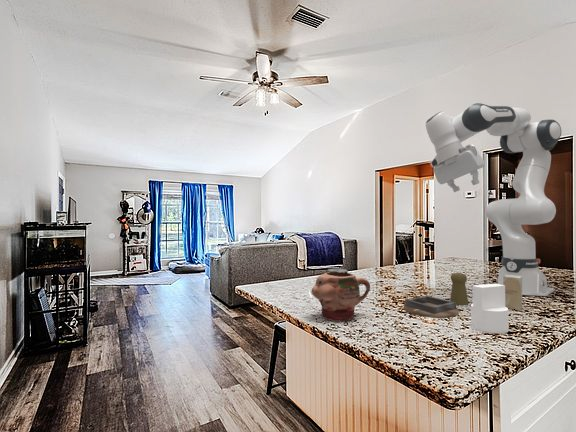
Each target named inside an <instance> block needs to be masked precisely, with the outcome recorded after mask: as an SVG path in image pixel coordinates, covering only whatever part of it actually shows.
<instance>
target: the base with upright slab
mask: <svg viewBox="0 0 576 432" xmlns="http://www.w3.org/2000/svg"><path fill="white" fill-rule="evenodd" d="M470 323H471V327H472V329H475V330H478V331H479V332H480V331H481V332H483V333H491V334H507V333H508V332H509V330H510V329H509V309H508V308H507V307H505V285H501V284H498V283H485V284H476V285H472V303H471V305H470Z"/></svg>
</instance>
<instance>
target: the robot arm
mask: <svg viewBox="0 0 576 432" xmlns="http://www.w3.org/2000/svg"><path fill="white" fill-rule="evenodd" d="M531 118H532V115H531V113H530V112H529V111H528V110H527V109H526V108H523V107H518V106H517V107H516V106H515V107H513V106H508V105H487V104H485V103H481V102H480V103H479V102H476V103H473V104H471V105H470V106H468V107H467V108H466V109H464V110H463V111H462V112H460V113H459V114H457V115H456V116H451V115H447V113H446V112H445V111H439V112H437V113H435V114H434V115H433V116H431V117H429V118H428V119H427V120H426V121H425V129H426V132H427V135H428V137H429V139H430V142H431V143H432V144H433V146H434V151H435V153H436V155H435V157H433V159H432V161H430V163H429V164H430V167H432V168H433V174H434V175H435V178H436V181H437V182H438V183H439V184H440V185H443V184H447V185H448V186H449V187H450V188H451V189H452V191H453V193H456V192H459V191H460V190H461V188H460V186H459V185H456V183H455V180H457V179H458V178H460V177H463V176H465V175H468V174H470V176H471V177H472V180H471V181H470V182H471V184H472V185H473V186H475V185H478V184H480V180H479V171H478V170H480V169H483V168H485V160H484V159H483V157H482V155H481V154H480V152H479V151H478V150H477V148H476V146H475V145H473V144H467V145H465V146H463V144H462V143H463V142H464V141H466V140H469V139H470V138H471V137H474V136H475V135H477V134H480V133H481V132H483V131H486V132H487V134H489V135H490V136H492V137H493V136H494V137H500V139H499V145H500V148H501V150H503V152H505V153H507V154H516V153H521V152H522V158H521V160H520V162H519V163H518V165H517V168H516V171H515V174H514V175H513V176H514V177H513V179H512V181H511V185H512V188H513V189H514V191H515V192H517V193H518V194H520V195H519V196H518V197H516V198H507V199H506V198H502V199H498V200H497V199H496V200H494V201H491V202H489V203H488V204H487V206H486V207H485V215H486V218H487V220H489V222H491V223H492V224H493V225H494V226H495V227H496V229H497V231H498V232H499V234H500V237H501V240H502V241H501V242H502V257H501V268H499V271H498V279H497V284H501V285H503V276H504V275H515V276H522V277H523V278H522V296H539V297H548V296H549V295H550V294H552V293H553V292H555V288H554V287H549V286H548V280H547V276H546V275H545V274H544V272H542V270H540V269H539V264H541V259H540V258H537V257H536V253H537V251H536V240H535V238H534V237H533V236H532V235H530V234H529V233H526V232H525V231H524V229H523V228H522V225H531V226H533V225H534V226H536V225H537V226H538V225H542V224H543V225H544V224H548V223H550V222H552V221H553V219H555V216H556V213H557V209H556V205H555V203H554V202H553V201H552V200H551V199H549V198H548V197H547V195H546V194H545V186H546V181H547V178H548V175H549V172H550V169H551V164H552V162H551V161H552V154H551V152H550V151H551V150H553V149H554V148H555V147H556V145H557V143H558V142H559V141H560V138H561V136H562V127H561V125H560V123H558V121H556V120H555V119H543V120H540V121H535V122H531V120H532V119H531Z"/></svg>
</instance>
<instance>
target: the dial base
mask: <svg viewBox="0 0 576 432" xmlns="http://www.w3.org/2000/svg"><path fill="white" fill-rule="evenodd" d="M403 310H404V311H405V312H408V313H410V314H413V315H416V316H420V317H426V318H435V319H436V318H437V319H442V318H443V319H444V318H445V319H446V317H448V318H454V317H457V316H458V315H459V314H460V313H459V312H460V311H459V308H458V307H457V305H456V302H452V301H450V300H447V299H442V298H440V297H439V298H438V297H434V296H430V295H423V296H419V297H418V296H417V297H413V298H412V297H411V298H409V299H408V298H407V299H405V300H404V304H403ZM458 313H459V314H458ZM456 315H457V316H456ZM453 316H454V317H453Z"/></svg>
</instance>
